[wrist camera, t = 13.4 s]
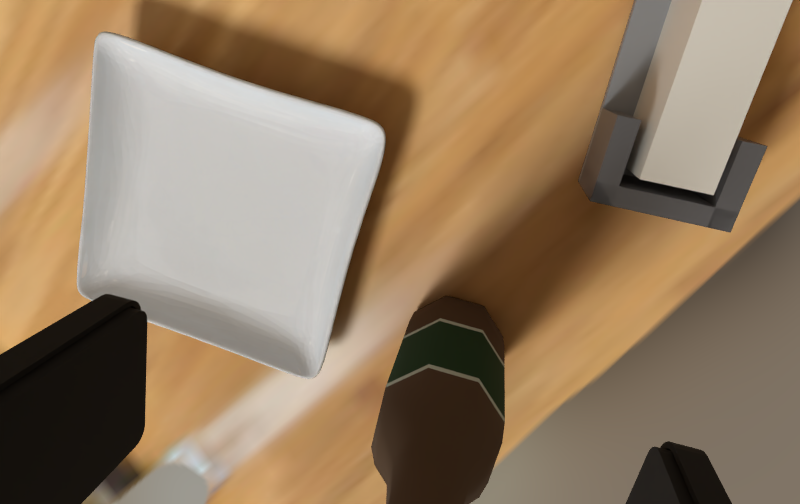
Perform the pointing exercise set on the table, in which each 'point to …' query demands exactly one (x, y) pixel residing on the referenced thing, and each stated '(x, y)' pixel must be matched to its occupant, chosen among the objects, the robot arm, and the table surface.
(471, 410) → the beer bottle
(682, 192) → the endcap jig
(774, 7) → the beige rectangular block
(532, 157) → the table surface
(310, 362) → the salad plate
